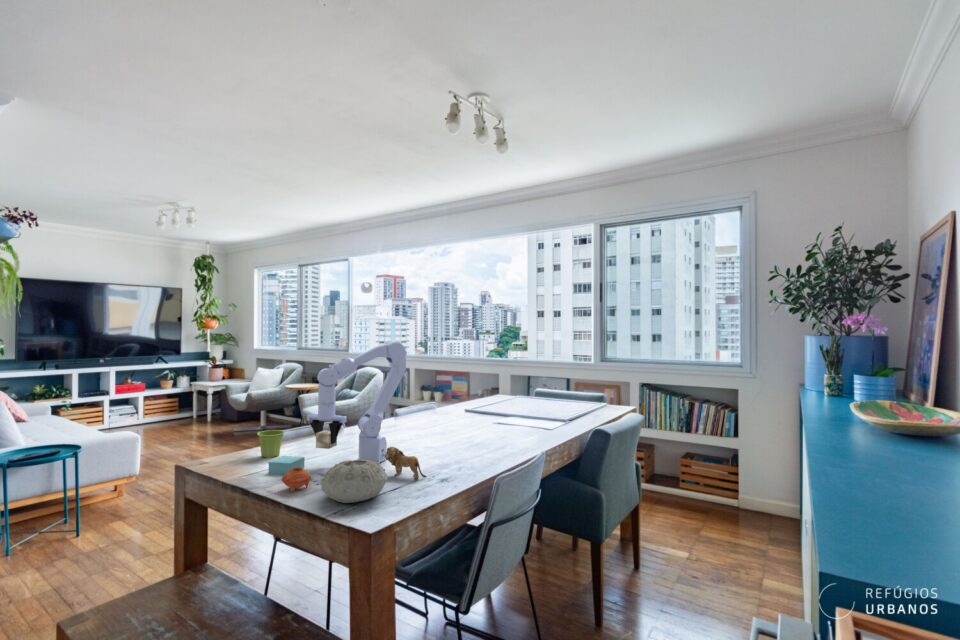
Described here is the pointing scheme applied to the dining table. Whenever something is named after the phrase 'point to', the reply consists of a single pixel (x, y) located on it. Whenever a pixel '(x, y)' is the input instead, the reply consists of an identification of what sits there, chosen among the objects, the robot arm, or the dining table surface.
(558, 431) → the dining table surface
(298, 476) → the pot
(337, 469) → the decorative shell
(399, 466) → the lion figurine
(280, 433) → the plant pot
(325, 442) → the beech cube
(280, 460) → the teal base block
